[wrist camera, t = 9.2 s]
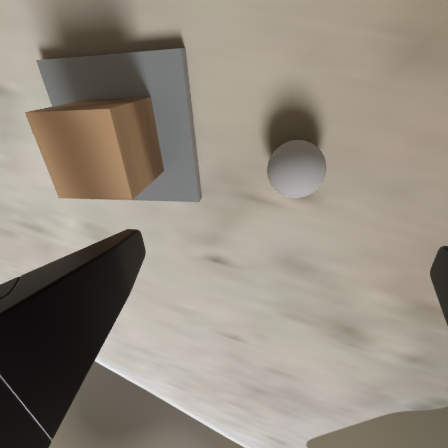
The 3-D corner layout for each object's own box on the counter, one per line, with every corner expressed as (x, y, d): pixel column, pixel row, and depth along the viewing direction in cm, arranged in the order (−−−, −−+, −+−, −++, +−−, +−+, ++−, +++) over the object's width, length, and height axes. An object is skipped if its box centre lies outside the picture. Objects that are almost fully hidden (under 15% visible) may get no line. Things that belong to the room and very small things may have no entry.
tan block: (151, 97, 18) (109, 108, 14) (164, 170, 20) (132, 200, 16) (83, 100, 19) (24, 112, 15) (103, 170, 21) (59, 198, 17)
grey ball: (325, 133, 18) (334, 148, 15) (319, 185, 20) (325, 208, 17) (269, 134, 18) (266, 149, 15) (268, 184, 20) (265, 206, 17)
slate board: (185, 48, 17) (181, 48, 16) (201, 197, 22) (199, 201, 21) (45, 60, 19) (36, 60, 18) (90, 194, 24) (84, 198, 23)
